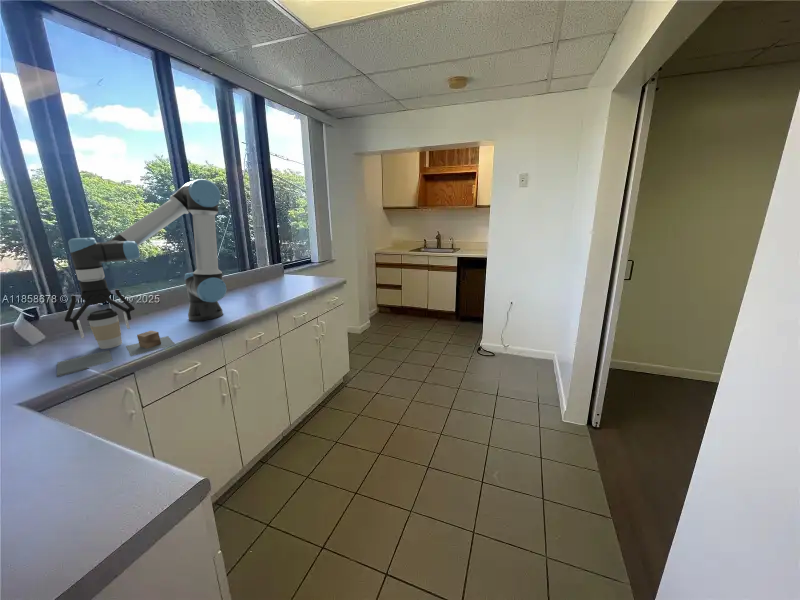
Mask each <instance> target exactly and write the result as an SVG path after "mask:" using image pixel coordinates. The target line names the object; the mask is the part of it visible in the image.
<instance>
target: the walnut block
mask: <svg viewBox="0 0 800 600" xmlns="http://www.w3.org/2000/svg"><path fill="white" fill-rule="evenodd" d="M136 335H137V336H136V337H137V341H138V343H139V345H140V347H143V348H147V349H148V348H151V347H154V346H157V345H160V344H161V341H160V338H161V337H160V333H159V331H154V330H148V331H145V332H141V333H139V334H136Z"/></svg>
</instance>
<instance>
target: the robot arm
mask: <svg viewBox="0 0 800 600" xmlns="http://www.w3.org/2000/svg"><path fill="white" fill-rule="evenodd" d="M221 196H222V195H221V191H220V189H219V187H218V186H217V185H216V184H215V183H214V182H213V181H211V180H208V179H205V178H204V179H203V178H196V179H194V180H192V181H188V182H186V183H184V184H183V185H182V186H181V187H180V188H178V190H176V191H175V192H174V193H173V194H171V195H170V196H169V199H168V200H167V201H166V202H164V203H163V204H161V205H160V206H158V207H157V208H155V209H154V210H152V211H151V212H149V213H148V214H147V215H145V216H144V217H142V218H140V219H139V220H138V221H136V222H135V223H133V224H132V225H130V226H129V227H127V228H126V229H124V230H122V231H121V232H120V233H118V234H117V235H116V236H114V237H113V238H111V239H108V240H107V241H104V242H97V240H96V238H95V237H79V238H78V237H77V238H74V237H73V238H70V239H69V240H68V241H67V243H68V248H69V252H70V256H71V260H72V264H73V267H74V270H75V274H76V277H77V281H79V282H78V285H79V287H80V291H81V292H80V293H81V294H71V295H70V300H71V301H70V304H69V306H68V309H67V311H66V314H65V317H64V322H66V323H67V322H68V323H69V322H71V323H72V325H73V328H74V330H75V331H79V335H80V337H81V339H84V338H85V335H84V332H83V331H84V330H83V328H82V324H81V322H80V319H79V318H80V317H81V316H82V315H83V314H84V312H85V311H86V310H87V308H88V307H89V306H90V305H97V304H104V303H106V302H107V303H109V304H111V305H112V306H115V307H116V308H118V309H120V310H121V311H123V312H122V314H123V318H124V323H125V326H126V328H127V329H128V330H129V329H131V327H130V323H129V321H131V320H132V316H131V312H132V311H135V309H136V308H135V307H134V306H133V304H131V303H130V302H129V301H128V300H127V299H126V298H125V297H124V296H123V295H122V294H121V292H120V289H119V288H115V289H112V290H110V289H109V286H108V283H107V280H106V279H105V277H106V276H105V271H104V268H103V265H102V263H111V262H123V261H124V262H125V261H135V260H139V259H140V257H141V254H140V249H139V246H141V245H142V244H143V243H144V242H145V241H147V240H149V239H150V238H151V237H154V235H156V234H158V232H160V231H162V230H163V229H164V228H166V227H167V226H168V225H170V224H172V223H173V222H174V221H176V220H177V219H178V218H180V217H181V216H182V215H185V214H186V215H188V214H191V215H192V227H193V237H194V239H193V240H194V250H195V264H196V269H195V270H194V271H193V272H187V273H184V283H185V286H186V287H185V288H186V292H187V297H188V302H189V306H188V314H187V317H188V320H189V321H192V322H199V321H200V322H201V321H207V320H212V319H216V318H219V317H221V316H222V315H223V314H224V313H223V308H222V306H221V305H220V303H219V301H221V300H222V299H223V298H224V297H226V294H227V285H226V283H225V282H224V278H223V272H222V270H220V269H219V261H218V260H219V259H218V258H219V257H218V244H217V229H216V215H217V214H219V203H220V202H221V198H222V197H221ZM111 294H112V295H114V296H117V297H118V298H119V299H120V300H121V302H122V303H124V304H125V305H126V306H127V307H125V306H123V305H122V304H120V303H118V302H117V301H115V300H113V299H112V298H110V296H111ZM80 299H83V300H84V302H83V304H82V305H81V306H80V307H79V309H78V311H77V312H76V313H75V314H74V316H73V317H72V314H73V311H74V309H75V306H76V304H77V302H78V301H79V300H80Z"/></svg>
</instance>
